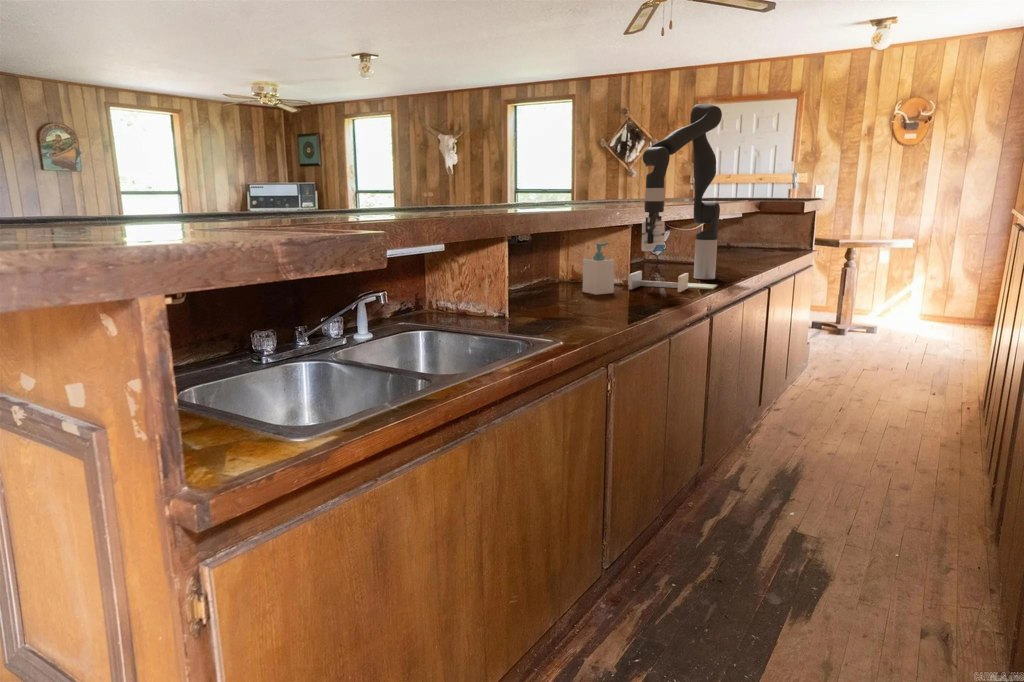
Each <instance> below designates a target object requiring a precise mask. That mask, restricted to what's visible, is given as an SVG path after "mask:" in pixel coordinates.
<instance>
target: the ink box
mask: <svg viewBox="0 0 1024 682" xmlns="http://www.w3.org/2000/svg"><path fill="white" fill-rule="evenodd" d="M642 221H643V223H642V222H641V223H642V224H641V225H642V226H641V251H642V252H664V251H665V227H666V225H665V223H666V221H664V220H661V221H657V222H656V229H654V238H653V243H652V244H648V243H647V239H648V234H647V232H646V220H642ZM653 226H654V225H653ZM650 229H651V228H650Z"/></svg>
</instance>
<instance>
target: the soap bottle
mask: <svg viewBox="0 0 1024 682" xmlns="http://www.w3.org/2000/svg"><path fill="white" fill-rule="evenodd" d="M609 244H610V243H609V242H601V243H600V242H599V243H596V242H594V245H596V250H597V251H596V252H595V253H594V255H592V258H583V259H582V260H583V261H582V264H583V265H582V292H583V293H586V294H589V295H591V294H592V295H596V296H598V295H607V294H613V293H614V291H615V290H614V289H615V287H614V286H615V259H610V258H605V255H603V254H604V252H602V251H601V250H602V247H604V246H607V245H609Z"/></svg>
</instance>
